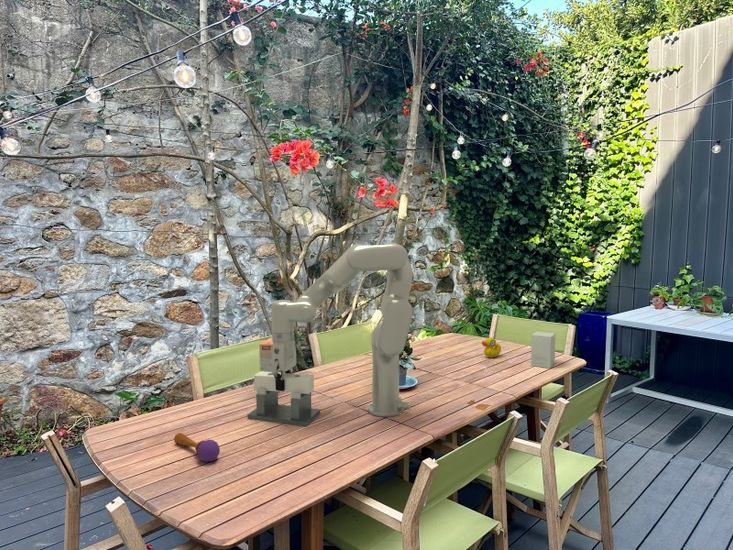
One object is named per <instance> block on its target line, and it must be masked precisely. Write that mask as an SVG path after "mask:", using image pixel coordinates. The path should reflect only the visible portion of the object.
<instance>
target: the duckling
mask: <svg viewBox="0 0 733 550" xmlns="http://www.w3.org/2000/svg"><path fill="white" fill-rule="evenodd" d="M481 344H482V346H483V347H485V348H484V349H483V350H484V351H483V354H484V355H485V356H486V357H487V358H489V359H493V358H497V357H498V356H499V355H500V354H501V351H502V346H501V345H500V343H497V340H496V339H495V338H493V337H487V338H486V339H485V340H482V341H481Z"/></svg>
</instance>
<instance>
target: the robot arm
mask: <svg viewBox="0 0 733 550" xmlns="http://www.w3.org/2000/svg"><path fill="white" fill-rule="evenodd" d="M408 255H409V254H408V251H407V250H406V248H405V247H404V246H403V245H401V244H399V243H395V242H386V243H384V244H379V245H377V244H376V245H364V244H360V243H356V244H353V245H351V246H350V247H349V248H348V249H347V250H346V251H345V252H344V253H343V254H342V255H341V256H340V257H339V258H338V259H337V260H336V261H335V262H334V263H333V264H332V265H331V266H330V267H328V269H327V270H325V271H324V273H323V274H322V275H320V277H318V278H317V279H316V281H314V282H313V283H312V284H311V285H309V287H308V288H307V289H306V290H304V292H303V293H302V294H301V295H300V296H299V297H298V298H297V299H296V301H295V302H293V301H291V300H289V299H279V300H274V301H273V302H272V303H271V310H270V311H271V312H270V313H271V337H272V342H273V346H272V369H273V371H272V374H273V375H274V377H275V384H276V390H277V391H284V390H285V379H283V378H284V373H291V374H294V370H293V369H294V368H295V366H296V365H297V363H298V362H297V348H296V342H295V341H296V340H295V323H300V324H301V323H302V324H307V323H311V322H312V321H314V320H315V319H316V317H317V312H318V310H317V309H319V307H321V305H323V303H324V302H325V301H326V300H328V299H329V298H330V297H332V296H333V295H336V294H338V293H340V292H341V291H343V290H345V288H346V287H347V286H348V285H349V284H350V283H351V282H352V281H353V280H354V279H355V278H356V276H358V275H359V274H360V273H361V272H375V271H376V272H378V271H381V272H382V271H387V280H386V286H385V290H384V293H383V297H382V300H381V304H380V312H381V315H382V316H383V318H382V321H381V323H378V324H377V325H376V326H375V327H374V328H373V330H372V333H371V339H370V341H371V354H372V355H371V356H372V357H371V358H372V359H371V360H372V370H371V371H372V375H371V376H372V382H371V383H372V385H371V386H372V397H371V399H372V401H371V402H372V403H370V404H368V406H367V411H368V413H370V414H371V415H373V416H376V417H383V418H385V417H386V418H387V417H388V418H389V417H395V416H399V415H401V414H402V413H403V412H404V410H409V411H410V410H411V406H412V405H411V403H410V401H403V400H402V397H401V396H400V354H401V353H402V352H403V350H404V348H405V347H406V343H407V340H408V335H409V331H410V328H411V324H412V321H413V320H412V319H413V307H412V305H411V303H410V301H409V296H410V292H411V287H412V282H413V270H412V269H413V268H412V265H411V263H410V260H409V256H408ZM278 369H281V370H278ZM278 372H281V375H280V374H279V373H278ZM400 413H401V414H400ZM398 414H399V415H398Z"/></svg>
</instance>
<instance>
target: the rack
mask: <svg viewBox="0 0 733 550" xmlns="http://www.w3.org/2000/svg"><path fill="white" fill-rule="evenodd" d="M290 395H291V396H290V405H287V404H279V392H278V391H267V390H266V389H265V388H257V390H256V394H255V397H256V399H255V400H256V401H255V402H256V403H255V404H256V405H255V406H256V407H255V408H254V409H253V410H252V411H250V412H249V413H247V415H246V417H247V420H253V419H254V420H255V421H260V422H262V421H263V422H269V423H277V424H284V425H290V426H297V427H303V428H305V427H307V426H309V425H310V424H311V423H312V422H313V421H314V420H315V419H316V418H318V417H319V416H320V415H321V409H318V408H312V391H311V392H310V393H309V394H303V393H299V392H290Z"/></svg>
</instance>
